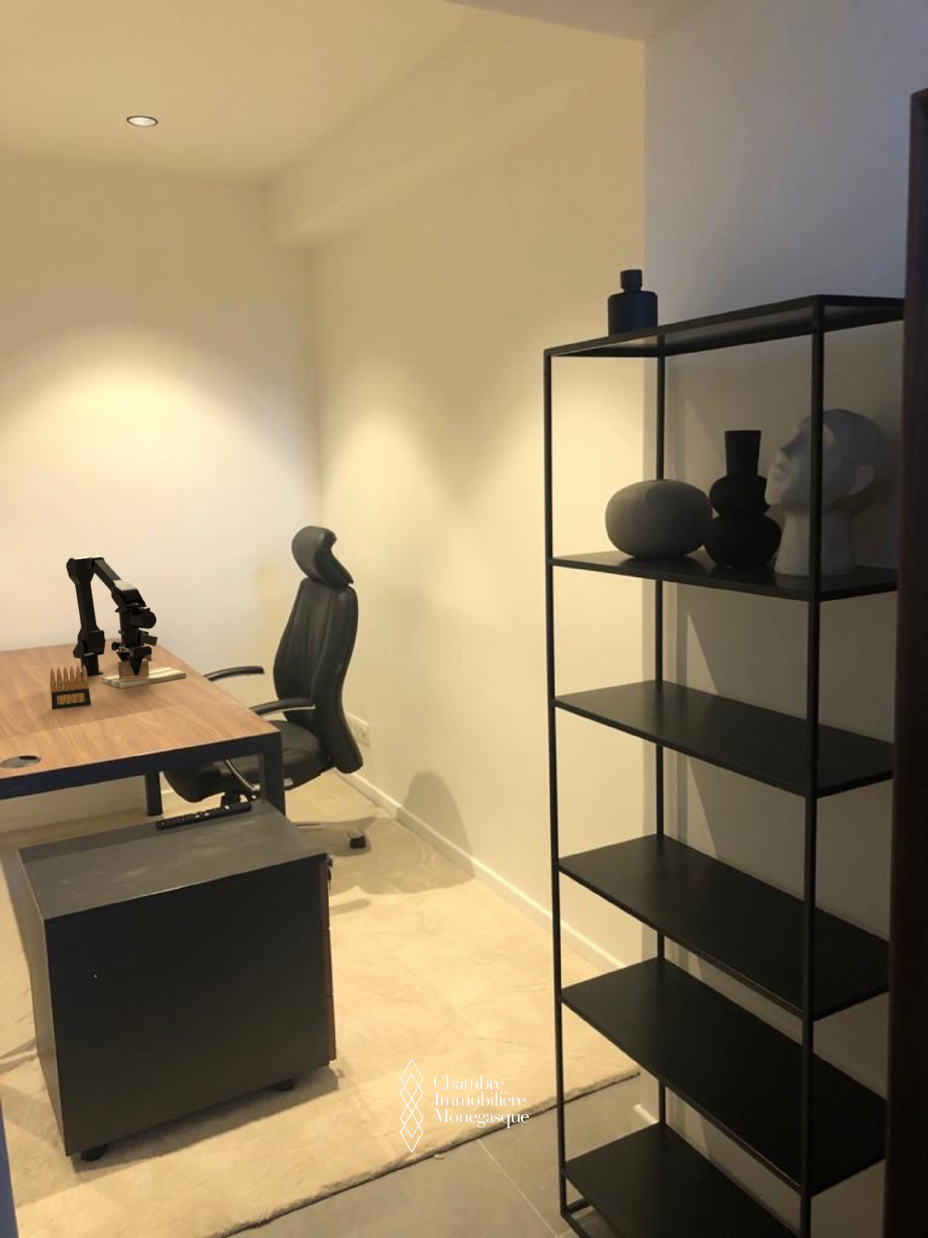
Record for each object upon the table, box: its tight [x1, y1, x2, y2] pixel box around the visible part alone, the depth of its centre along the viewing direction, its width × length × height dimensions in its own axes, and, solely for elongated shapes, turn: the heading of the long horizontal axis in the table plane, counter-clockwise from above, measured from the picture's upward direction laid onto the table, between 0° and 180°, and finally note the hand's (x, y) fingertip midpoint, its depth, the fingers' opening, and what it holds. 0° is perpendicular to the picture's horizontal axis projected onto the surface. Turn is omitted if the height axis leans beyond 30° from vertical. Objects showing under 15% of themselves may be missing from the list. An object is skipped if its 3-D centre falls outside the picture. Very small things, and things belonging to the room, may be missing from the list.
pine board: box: [101, 666, 187, 689], centre depth 332 cm, size 15×22×2 cm
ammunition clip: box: [49, 665, 92, 711], centre depth 296 cm, size 11×2×12 cm, turn 113°
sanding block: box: [117, 659, 150, 679], centre depth 329 cm, size 5×8×5 cm, turn 131°
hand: (133, 674), depth 329 cm, fingers closed on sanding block, 5 cm apart
